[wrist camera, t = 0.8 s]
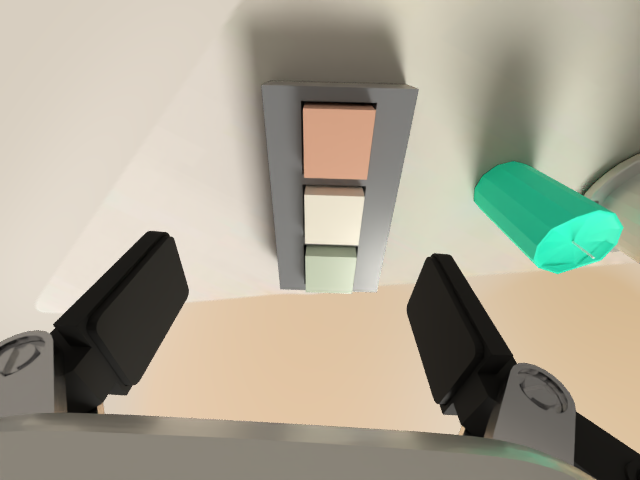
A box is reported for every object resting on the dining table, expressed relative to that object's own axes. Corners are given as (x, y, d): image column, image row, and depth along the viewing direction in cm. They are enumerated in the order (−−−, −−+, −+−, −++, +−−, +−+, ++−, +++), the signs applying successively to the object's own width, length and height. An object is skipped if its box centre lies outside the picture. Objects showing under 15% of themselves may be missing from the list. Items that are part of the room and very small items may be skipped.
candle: (467, 179, 28) (541, 246, 18) (529, 149, 26) (649, 206, 16) (480, 220, 31) (550, 297, 21) (537, 196, 29) (643, 268, 19)
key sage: (354, 240, 30) (356, 257, 27) (350, 274, 33) (352, 293, 31) (307, 238, 30) (305, 256, 28) (307, 273, 33) (305, 292, 31)
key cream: (361, 182, 26) (364, 196, 23) (355, 228, 29) (358, 245, 27) (306, 180, 26) (304, 194, 24) (307, 226, 29) (305, 243, 27)
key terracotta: (370, 103, 22) (375, 110, 19) (362, 166, 25) (366, 179, 23) (306, 102, 22) (303, 108, 19) (306, 165, 25) (304, 177, 23)
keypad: (406, 84, 23) (418, 89, 20) (372, 270, 36) (376, 292, 33) (270, 80, 23) (261, 84, 20) (284, 267, 36) (280, 289, 33)
